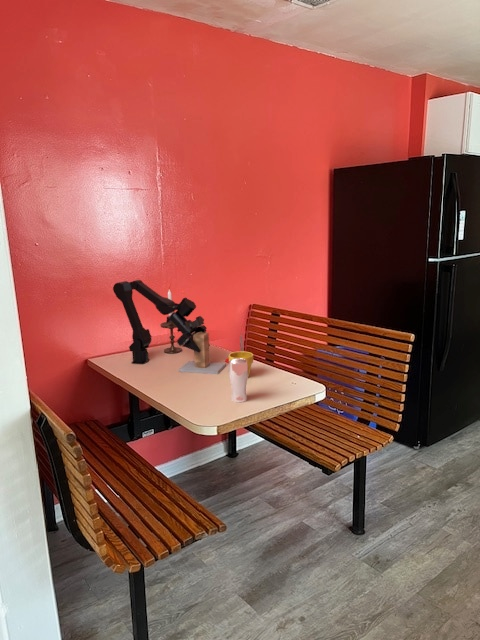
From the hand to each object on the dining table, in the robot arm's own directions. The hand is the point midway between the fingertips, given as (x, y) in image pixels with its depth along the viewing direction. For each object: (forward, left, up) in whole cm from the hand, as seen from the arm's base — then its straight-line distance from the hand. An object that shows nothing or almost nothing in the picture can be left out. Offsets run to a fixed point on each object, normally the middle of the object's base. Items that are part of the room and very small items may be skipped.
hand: (204, 349), depth 213 cm
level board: (-1, 0, -9) cm, 9 cm away
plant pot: (+19, -7, -9) cm, 22 cm away
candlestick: (-26, +24, -9) cm, 37 cm away
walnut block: (-2, 0, -8) cm, 8 cm away
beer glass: (+25, -32, -9) cm, 41 cm away
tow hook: (+10, +14, -10) cm, 20 cm away
